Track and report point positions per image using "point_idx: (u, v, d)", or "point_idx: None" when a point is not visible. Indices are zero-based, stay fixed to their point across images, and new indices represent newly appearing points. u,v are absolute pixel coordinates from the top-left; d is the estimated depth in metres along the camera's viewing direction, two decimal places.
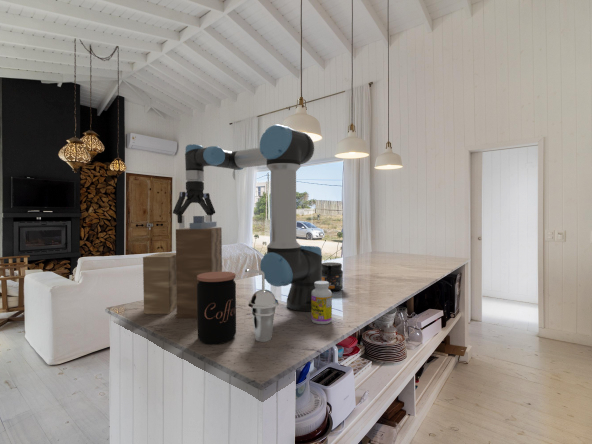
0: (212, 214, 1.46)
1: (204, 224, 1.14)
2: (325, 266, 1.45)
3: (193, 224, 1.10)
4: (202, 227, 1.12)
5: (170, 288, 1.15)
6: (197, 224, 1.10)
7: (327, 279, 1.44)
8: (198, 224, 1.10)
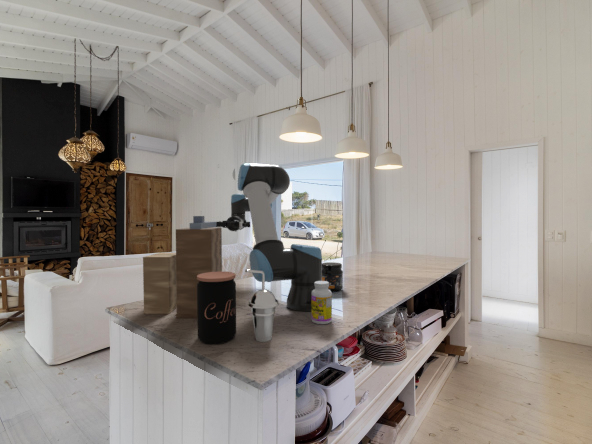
0: None
1: (204, 224, 1.14)
2: (325, 266, 1.45)
3: (193, 224, 1.10)
4: (202, 227, 1.12)
5: (170, 288, 1.15)
6: (197, 224, 1.10)
7: (327, 279, 1.44)
8: (198, 224, 1.10)
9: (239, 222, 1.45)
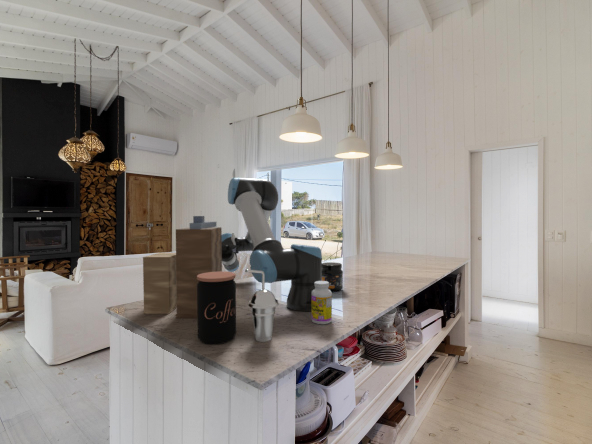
0: (238, 239, 1.44)
1: (204, 224, 1.14)
2: (325, 266, 1.45)
3: (193, 224, 1.10)
4: (202, 227, 1.12)
5: (170, 288, 1.15)
6: (197, 224, 1.10)
7: (327, 279, 1.44)
8: (198, 224, 1.10)
9: None
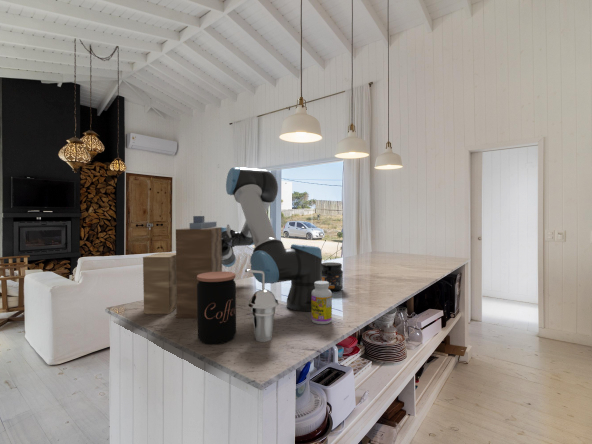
0: (234, 231, 1.38)
1: (204, 224, 1.14)
2: (325, 266, 1.45)
3: (193, 224, 1.10)
4: (202, 227, 1.12)
5: (170, 288, 1.15)
6: (197, 224, 1.10)
7: (327, 279, 1.44)
8: (198, 224, 1.10)
9: None
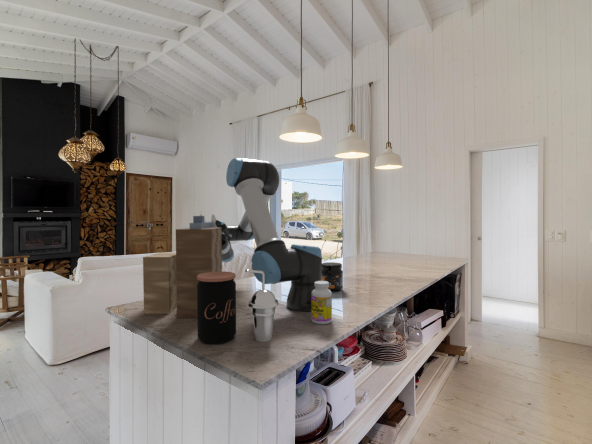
0: (219, 222, 1.30)
1: (204, 224, 1.14)
2: (325, 266, 1.45)
3: (193, 224, 1.10)
4: (202, 227, 1.12)
5: (170, 288, 1.15)
6: (197, 224, 1.10)
7: (327, 279, 1.44)
8: (198, 224, 1.10)
9: (212, 215, 1.24)
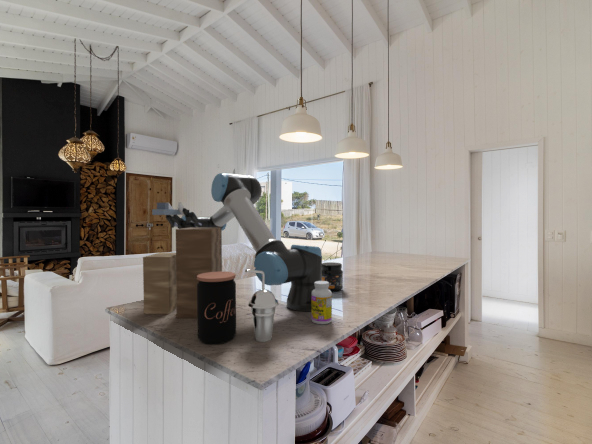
0: (187, 210, 1.33)
1: (168, 210, 1.17)
2: (325, 266, 1.45)
3: (156, 210, 1.14)
4: (165, 213, 1.15)
5: (170, 288, 1.15)
6: (160, 210, 1.14)
7: (327, 279, 1.44)
8: (160, 210, 1.14)
9: None
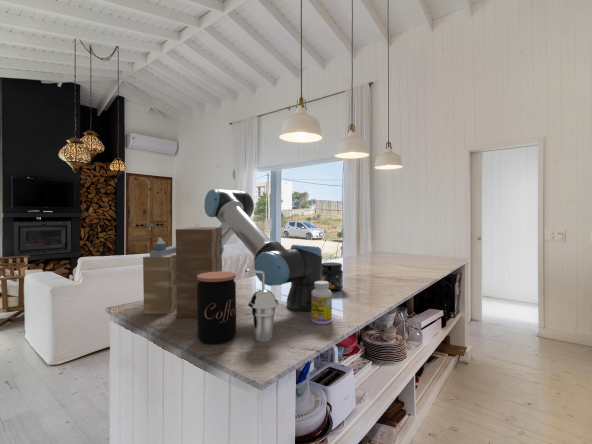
0: None
1: (165, 251, 1.17)
2: (325, 266, 1.45)
3: (153, 252, 1.13)
4: (162, 255, 1.15)
5: (170, 288, 1.15)
6: (157, 252, 1.13)
7: (327, 279, 1.44)
8: (158, 252, 1.13)
9: None
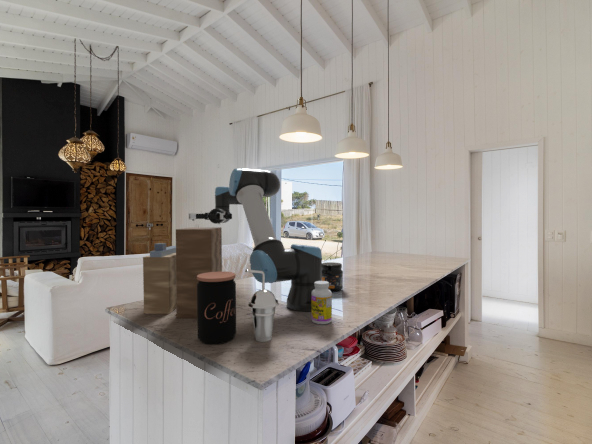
0: (226, 212, 1.50)
1: (165, 251, 1.17)
2: (325, 266, 1.45)
3: (153, 252, 1.13)
4: (162, 255, 1.15)
5: (170, 288, 1.15)
6: (157, 252, 1.13)
7: (327, 279, 1.44)
8: (158, 252, 1.13)
9: (220, 213, 1.43)
